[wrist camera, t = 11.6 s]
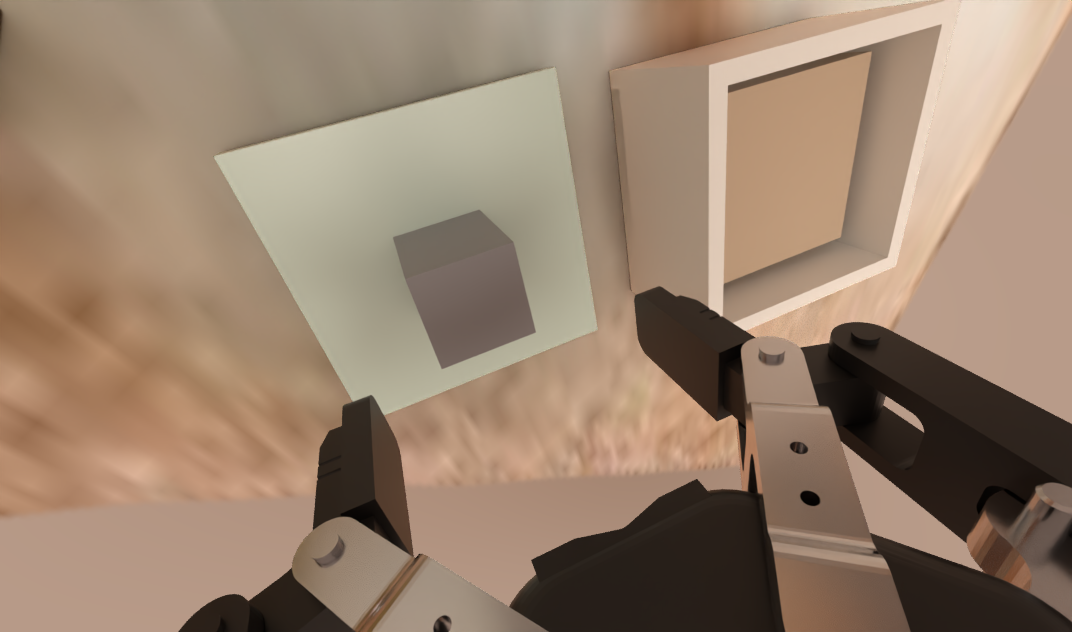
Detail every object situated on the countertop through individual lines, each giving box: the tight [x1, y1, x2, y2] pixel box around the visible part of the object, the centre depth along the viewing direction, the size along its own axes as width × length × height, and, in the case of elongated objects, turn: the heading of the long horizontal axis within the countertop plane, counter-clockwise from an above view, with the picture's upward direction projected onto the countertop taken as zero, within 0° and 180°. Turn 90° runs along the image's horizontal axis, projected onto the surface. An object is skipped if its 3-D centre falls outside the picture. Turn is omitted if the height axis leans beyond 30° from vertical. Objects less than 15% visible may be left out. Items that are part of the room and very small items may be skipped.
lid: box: [213, 67, 598, 415], centre depth 19 cm, size 14×14×7 cm
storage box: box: [609, 0, 961, 331], centre depth 22 cm, size 12×12×7 cm
